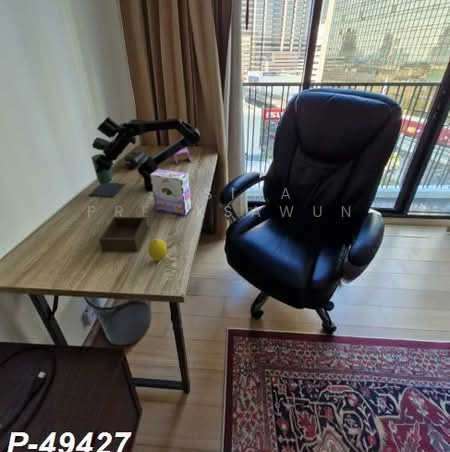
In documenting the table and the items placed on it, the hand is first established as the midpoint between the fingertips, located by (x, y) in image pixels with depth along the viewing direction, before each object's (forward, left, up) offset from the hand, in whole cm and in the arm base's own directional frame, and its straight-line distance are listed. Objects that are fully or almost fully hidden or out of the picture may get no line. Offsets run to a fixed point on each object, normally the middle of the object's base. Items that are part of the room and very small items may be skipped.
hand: (99, 168), depth 111 cm
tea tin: (-1, 0, -6) cm, 6 cm away
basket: (-7, +38, -11) cm, 41 cm away
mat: (-1, 0, -11) cm, 11 cm away
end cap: (-16, -22, -11) cm, 29 cm away
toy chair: (-41, -17, -11) cm, 46 cm away
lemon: (-16, +52, -11) cm, 56 cm away
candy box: (-26, +27, -11) cm, 40 cm away
